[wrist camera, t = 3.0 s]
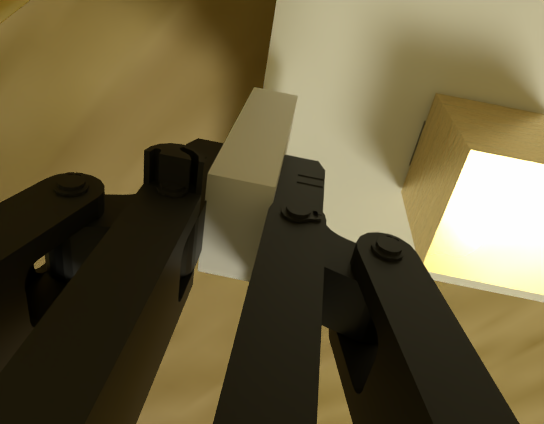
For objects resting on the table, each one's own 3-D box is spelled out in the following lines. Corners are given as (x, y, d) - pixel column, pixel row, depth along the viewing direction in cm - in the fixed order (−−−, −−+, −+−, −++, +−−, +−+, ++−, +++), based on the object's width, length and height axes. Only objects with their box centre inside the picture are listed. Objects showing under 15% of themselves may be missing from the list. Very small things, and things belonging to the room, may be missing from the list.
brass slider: (400, 191, 19) (420, 270, 14) (435, 93, 16) (470, 149, 12) (501, 211, 18) (551, 296, 14) (549, 115, 16) (624, 180, 12)
